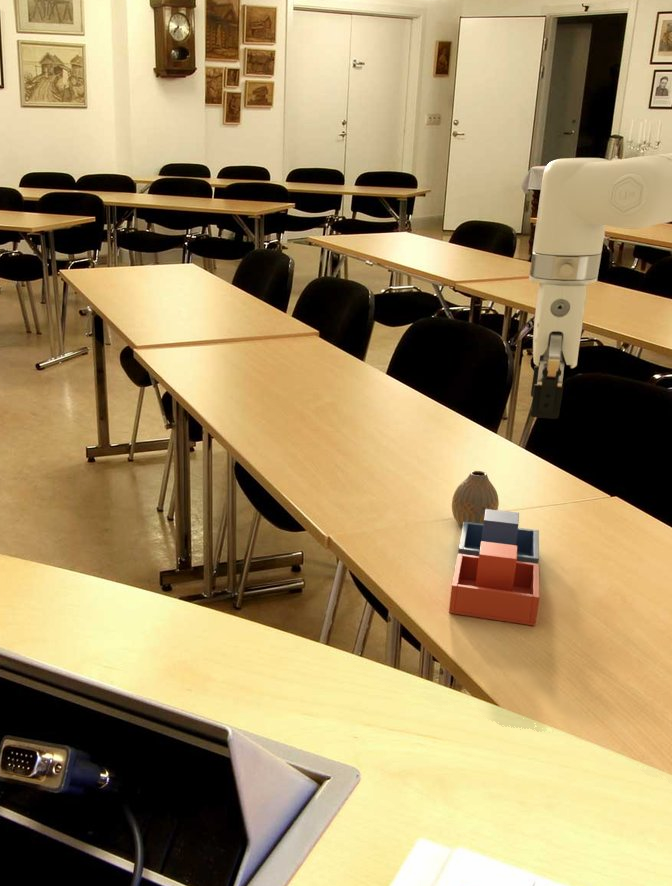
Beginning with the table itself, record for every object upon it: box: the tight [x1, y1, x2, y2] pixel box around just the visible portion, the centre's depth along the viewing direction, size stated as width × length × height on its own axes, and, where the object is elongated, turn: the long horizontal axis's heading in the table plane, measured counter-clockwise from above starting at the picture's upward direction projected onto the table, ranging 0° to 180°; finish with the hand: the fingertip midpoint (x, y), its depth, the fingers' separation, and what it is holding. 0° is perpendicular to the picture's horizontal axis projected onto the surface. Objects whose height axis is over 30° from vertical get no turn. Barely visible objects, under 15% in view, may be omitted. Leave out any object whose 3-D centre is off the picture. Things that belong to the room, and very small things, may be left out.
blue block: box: [482, 509, 520, 545], centre depth 129 cm, size 4×4×7 cm
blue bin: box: [457, 522, 540, 564], centre depth 130 cm, size 10×10×4 cm
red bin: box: [448, 553, 540, 627], centre depth 120 cm, size 10×10×4 cm
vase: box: [451, 470, 500, 528], centre depth 143 cm, size 7×7×9 cm
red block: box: [475, 541, 517, 592], centre depth 119 cm, size 4×4×7 cm
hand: (543, 406), depth 115 cm, fingers open, 9 cm apart
